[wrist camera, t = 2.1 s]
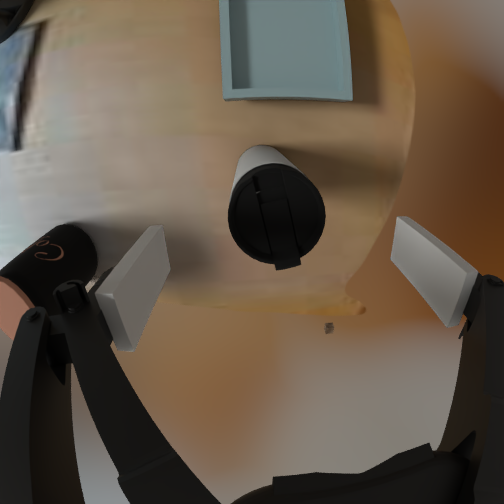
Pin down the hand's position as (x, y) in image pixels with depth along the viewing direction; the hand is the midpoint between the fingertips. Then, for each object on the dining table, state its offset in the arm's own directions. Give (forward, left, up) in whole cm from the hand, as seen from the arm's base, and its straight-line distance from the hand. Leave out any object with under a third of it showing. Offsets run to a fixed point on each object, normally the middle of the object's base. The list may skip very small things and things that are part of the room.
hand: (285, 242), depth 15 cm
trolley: (-18, +3, -22) cm, 29 cm away
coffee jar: (+10, -31, -23) cm, 40 cm away
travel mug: (0, 0, -23) cm, 23 cm away
